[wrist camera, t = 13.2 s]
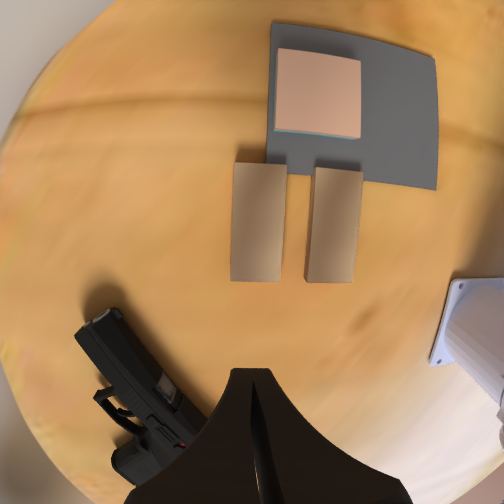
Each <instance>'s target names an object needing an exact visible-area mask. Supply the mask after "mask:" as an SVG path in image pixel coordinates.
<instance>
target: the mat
mask: <svg viewBox="0 0 504 504" xmlns="http://www.w3.org/2000/svg"><path fill="white" fill-rule="evenodd" d="M278 48H282V49H291V50H299V51H307V52H314V53H321V54H327V55H333V56H338V57H343V58H349V59H353V60H358V61H361V135H360V138H358V139H354V140H352V139H345V138H337V137H329V136H321V135H312V134H302V133H291V132H279V131H273V116H274V93H275V69H276V54H277V51H278ZM438 139H439V123H438V93H437V78H436V66H435V59H434V58H431V57H428V56H425V55H422V54H420V53H417V52H414V51H411V50H408V49H404V48H401V47H398V46H394V45H391V44H388V43H384V42H380V41H377V40H373V39H369V38H365V37H360V36H356V35H351V34H347V33H342V32H337V31H331V30H326V29H320V28H314V27H307V26H299V25H291V24H282V23H272V24H271V44H270V70H269V95H268V119H267V142H266V164H279V165H287V174H297V175H311V176H313V170H314V167H319V168H329V169H339V170H349V171H358V172H363V181H372V182H380V183H388V184H396V185H403V186H410V187H417V188H423V189H430V190H436V186H437V170H438Z"/></svg>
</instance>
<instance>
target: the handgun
mask: <svg viewBox="0 0 504 504" xmlns="http://www.w3.org/2000/svg"><path fill="white" fill-rule="evenodd" d="M122 315H123V314H122V313H121V312H120V311H119V310H118V309H115V307H113V308H110V309H107V310H105V311H103V312H102V313H100V314H99V315H98V316H97V317H95V318H94V319H92V320H91V321H89V322H87V323H86V324H85V325H84V326H82V327H81V328H80V329H79V330H78V331H77V333H76V334H75V335H74V337H75V339H76V341H77V342H78V343H79V345H80V346H81V347H82V349H83V350H84V351H85V353H86V354H87V355H88V357H89V358H90V359H91V360H92V362H93V363H94V364H95V366H96V367H97V368H98V369H99V371H100V372H101V373H102V374H103V375H104V377H105V378H106V379H107V380H108V381H109V383H110V384H111V385H112V386H110V387H108V388H105V389H102V390H97V392H96V394H95V395H94V397H93V399H94V400H95V401H96V402H97V403H98V404H99V405H100V406H101V407H102V408H103V409H104V410H105V412H106V413H107V414H108V415H109V416H110V417H111V418H112V419H113V420H114V421H115V422H116V423H117V424H119V425H120V426H121V427H123V428H124V429H126V430H127V431H129V432H130V433H131V434H133V435H134V436H135V438H134V439H132V440H131V441H130V442H128V443H127V444H126V445H124V446H123V447H122V448H119V449H116V450H114V452H113V454H112V457H111V464H112V467H113V469H114V470H115V471H116V472H117V473H119V474H120V475H121V476H122V477H123V478H125V479H126V480H127V481H129V482H130V483H131V484H132V485H135V486H136V487H138V486H139V485H141V484H142V483H144V482H145V481H147V480H148V479H150V478H151V477H153V476H154V475H156V474H157V473H158V472H159V471H161V470H162V469H163V468H164V467H165V466H167V465H168V464H169V463H170V462H171V461H172V460H174V459H175V458H176V457H177V456H178V455H179V454H180V453H181V452H182V451H183V450H184V449H185V448H186V447H187V446H188V445H189V444H190V442H191V441H192V440H193V439H194V438H195V437H196V435H197V434H198V433H199V432H200V430H201V429H202V428H203V426H204V425H205V424H206V422H207V421H208V420H207V418H206V417H205V416H204V415H203V414H202V413H201V412H200V411H199V410H198V409H197V408H196V407H195V406H194V405H193V404H192V403H191V402H190V400H189V399H188V398H187V397H186V396H185V395H184V394H182V393H181V392H180V391H179V390H178V389H177V387H176V386H175V385H174V384H173V383H172V382H171V380H170V379H169V378H168V377H167V375H166V374H165V373H164V372H163V370H162V368H161V367H160V366H159V365H158V364H157V362H156V361H155V360H154V359H153V358H152V356H151V355H150V354H149V353H148V351H147V350H146V349H145V348H144V346H143V345H142V344H141V342H140V341H139V340H138V339H137V337H136V336H135V335H134V333H133V332H132V331H131V329H130V328H129V327H128V325H127V324H126V323H125V321H124V320H123V319H122V317H121V316H122ZM114 395H117V396H118V397H119V398H120V399H121V400H122V401H123V403H124V404H125V405H126V406H127V407H128V408H129V409H130V410H123V409H122V408H118V410H117V409H116V408H115V407H114V406H113V404H112V403H111V402H110V401H109V400H108V399H107V398H108V397H111V396H114ZM180 401H181V402H180ZM179 405H180V406H179ZM135 416H137V417H138V418H139V420H140V421H141V422H142V423H143V424H144V425H145V426H143V427H140V426H138V425H136V424H135V423H133V422H132V421H131V420H129V419H128V418H126V417H135Z"/></svg>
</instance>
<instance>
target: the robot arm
mask: <svg viewBox="0 0 504 504" xmlns="http://www.w3.org/2000/svg"><path fill="white" fill-rule="evenodd" d="M460 284H461V285H460ZM459 285H460V287H459ZM455 362H457V363H458V364H459V365H460V366H461V367H462V368H463V369H464V370H465V371H466V372H467V373H468V374H469V375H470V376H471V377H472V378H473V379H474V380H475V381H476V382H477V383H478V385H479V386H480V387H481V388H482V389H483V390H484V391H485V392H486V393H487V394H488V395H489V396H490V397H491V398H492V399H493V400H494V401H495V402H496V403H497V404H498V405H499V406H500V410H499V412H498V413H497V415H496V416H497V418H498V419H499V420H500V421H501V422H502V423H503V425H502V426H501V429H500V433H499V436H500V442H501V445H502V449H503V451H504V278H469V279H454V280H453V281H452V282H451V284H450V288H449V292H448V297H447V301H446V305H445V309H444V313H443V316H442V320H441V324H440V327H439V331H438V334H437V337H436V341H435V344H434V347H433V350H432V353H431V356H430V359H429V365H430V366H431V367H435V366H440V365H445V364H450V363H455ZM254 461H255V463H254ZM255 467H256V470H255ZM256 473H257V477H256ZM257 478H258V484H257ZM258 486H259V490H258ZM124 504H413V502H412V500H411V498H410V496H409V494H408V492H407V490H406V489H405V487H404V486H403V485H402V483H401V481H400V480H399V479H397V478H394V477H392V476H389V475H387V474H384V473H382V472H380V471H377V470H375V469H373V468H371V467H369V466H367V465H365V464H363V463H361V462H360V461H358V460H356V459H354V458H353V457H351V456H350V455H348V454H347V453H345V452H344V451H342V450H341V449H339V448H338V447H336V446H335V445H334V444H332V443H331V442H330V441H329V440H327V439H326V438H325V437H324V436H323V435H322V434H320V433H319V432H318V431H317V430H316V429H315V428H314V427H313V426H312V425H311V424H310V423H309V422H308V421H307V420H306V419H305V418H304V417H303V416H302V414H301V413H300V412H299V411H298V410H297V409H296V407H295V406H294V405H293V404H292V402H291V401H290V400H289V398H288V397H287V396H286V394H285V393H284V391H283V390H282V388H281V387H280V385H279V384H278V382H277V381H276V379H275V377H274V375H273V374H272V372H271V370H270V369H269V368H233V369H232V370H231V372H230V377H229V380H228V383H227V386H226V388H225V390H224V393H223V395H222V397H221V399H220V401H219V403H218V404H217V406H216V408H215V410H214V411H213V413H212V414H211V416H210V418H209V419H208V421H207V422H206V424H205V425H204V426H203V428H202V429H201V430H200V432H199V433H198V434H197V435H196V437H195V438H194V439H193V440H192V441H191V442H190V444H189V445H188V446H187V447H186V448H185V449H184V450H183V451H182V452H181V453H180V454H179V455H178V456H177V457H176V458H175V459H174V460H172V461H171V462H170V463H169V464H168V465H167V466H165V467H164V468H163V469H162V470H161V471H159V472H158V473H157V474H156V475H154V476H153V477H151V478H150V479H148V480H147V481H145V482H144V483H142V484H141V485H139V486H138V487H136V488H134V489H133V490H131V492H130V493H129V495H128V496H127V498H126V500H125V502H124ZM501 504H504V500H503V501H502V502H501Z"/></svg>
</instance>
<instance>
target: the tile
mask: <svg viewBox="0 0 504 504" xmlns="http://www.w3.org/2000/svg"><path fill="white" fill-rule="evenodd" d="M273 131H279V132H291V133H302V134H312V135H321V136H329V137H337V138H345V139H352V140H354V139H358V138H360V135H361V61H358V60H353V59H349V58H343V57H338V56H333V55H327V54H321V53H314V52H307V51H299V50H291V49H282V48H278V51H277V54H276V69H275V93H274V116H273Z"/></svg>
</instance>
